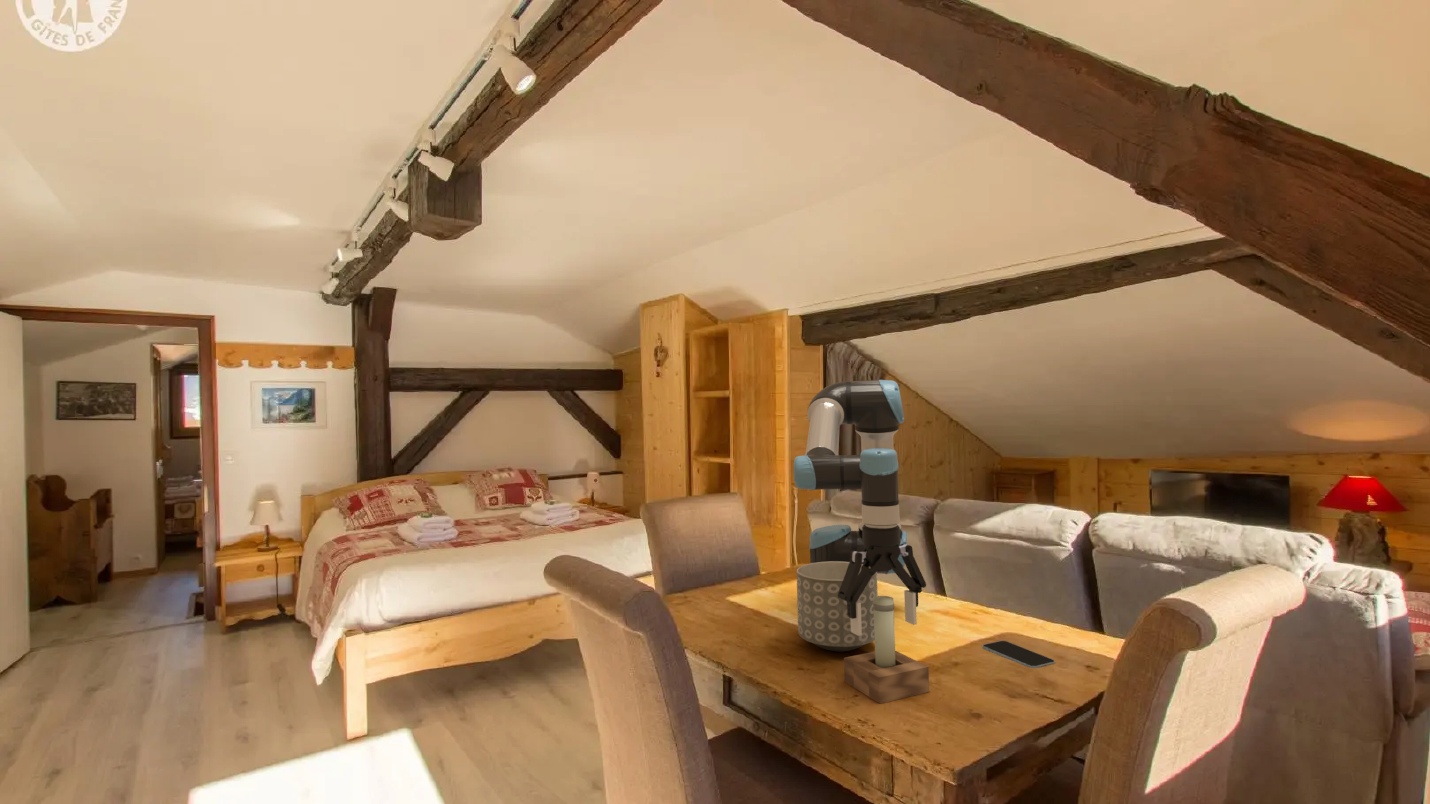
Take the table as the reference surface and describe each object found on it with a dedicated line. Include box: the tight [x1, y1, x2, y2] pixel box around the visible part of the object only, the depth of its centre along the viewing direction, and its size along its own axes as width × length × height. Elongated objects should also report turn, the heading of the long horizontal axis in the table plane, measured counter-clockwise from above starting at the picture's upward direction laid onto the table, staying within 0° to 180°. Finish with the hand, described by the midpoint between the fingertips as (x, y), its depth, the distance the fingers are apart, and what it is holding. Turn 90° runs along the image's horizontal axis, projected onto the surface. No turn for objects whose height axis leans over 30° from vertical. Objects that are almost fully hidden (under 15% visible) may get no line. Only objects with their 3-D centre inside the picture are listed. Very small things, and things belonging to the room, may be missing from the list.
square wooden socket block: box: [843, 650, 930, 704], centre depth 141 cm, size 12×12×5 cm
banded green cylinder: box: [873, 595, 896, 669], centre depth 141 cm, size 4×4×18 cm
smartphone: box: [982, 640, 1056, 669], centre depth 157 cm, size 7×1×15 cm
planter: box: [796, 562, 879, 653], centre depth 166 cm, size 19×19×18 cm
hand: (884, 628), depth 142 cm, fingers open, 13 cm apart
